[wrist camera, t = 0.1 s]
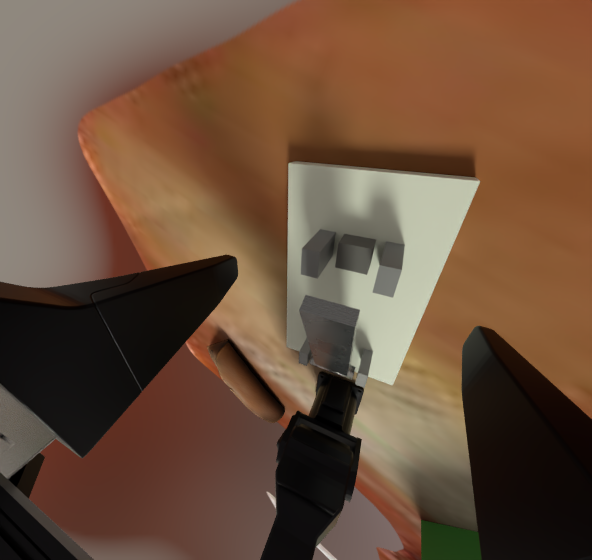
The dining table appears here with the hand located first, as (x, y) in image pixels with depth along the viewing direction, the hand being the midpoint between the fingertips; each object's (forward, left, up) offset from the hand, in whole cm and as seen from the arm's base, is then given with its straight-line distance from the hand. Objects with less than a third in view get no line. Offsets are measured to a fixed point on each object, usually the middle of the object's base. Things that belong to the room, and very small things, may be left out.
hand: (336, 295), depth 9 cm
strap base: (-9, +1, -14) cm, 17 cm away
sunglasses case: (-35, +17, -15) cm, 42 cm away
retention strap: (-11, +1, -8) cm, 13 cm away
